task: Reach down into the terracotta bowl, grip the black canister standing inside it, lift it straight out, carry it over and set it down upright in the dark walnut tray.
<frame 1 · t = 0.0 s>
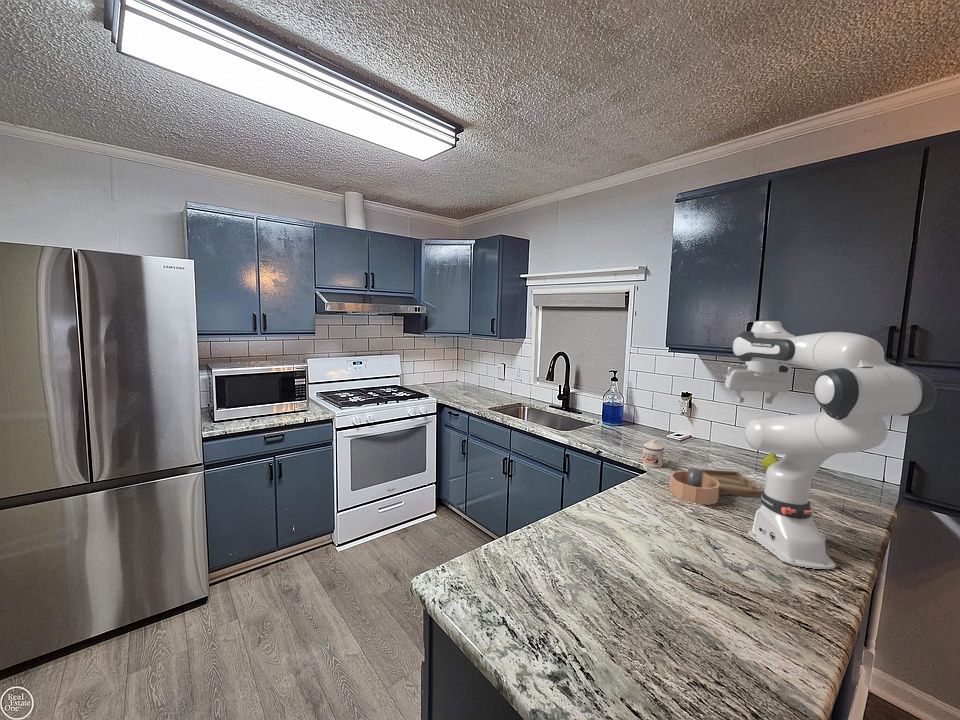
hand: (754, 402, 144), 39 cm above the worktop, tool pointing down, fingers open, 8 cm apart
black canister: (694, 483, 155), in the terracotta bowl
fruit: (770, 472, 181), on the worktop
teacup with lid: (655, 465, 186), on the worktop
walnut tray: (728, 485, 165), on the worktop
terracotta bowl: (693, 495, 156), on the worktop
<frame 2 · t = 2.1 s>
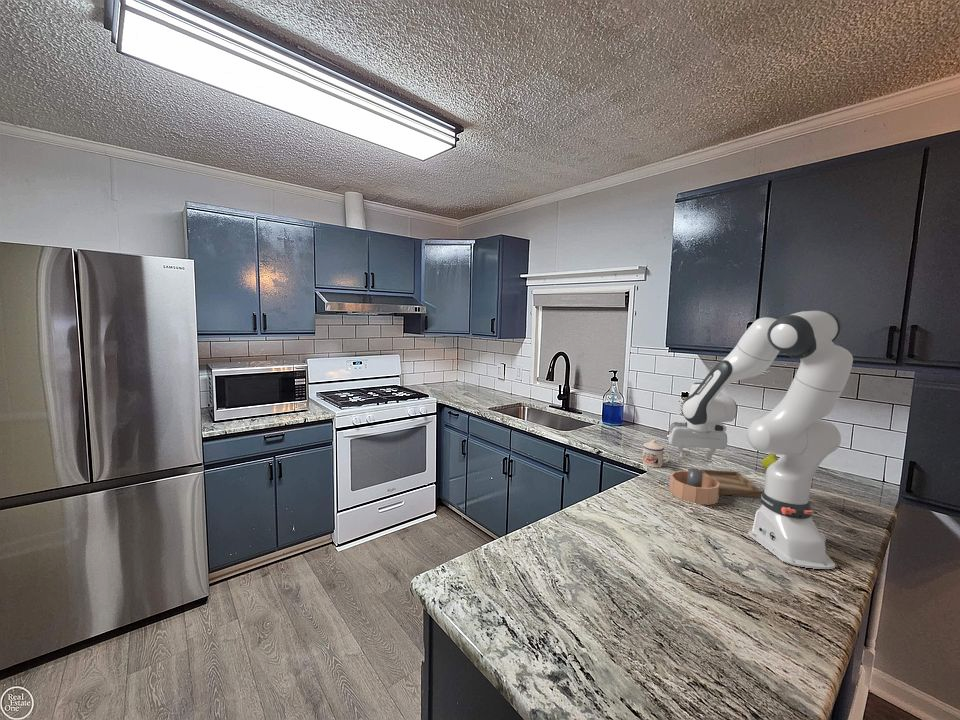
hand: (695, 457, 155), 15 cm above the worktop, tool pointing down, fingers open, 8 cm apart
nothing on the worktop moved.
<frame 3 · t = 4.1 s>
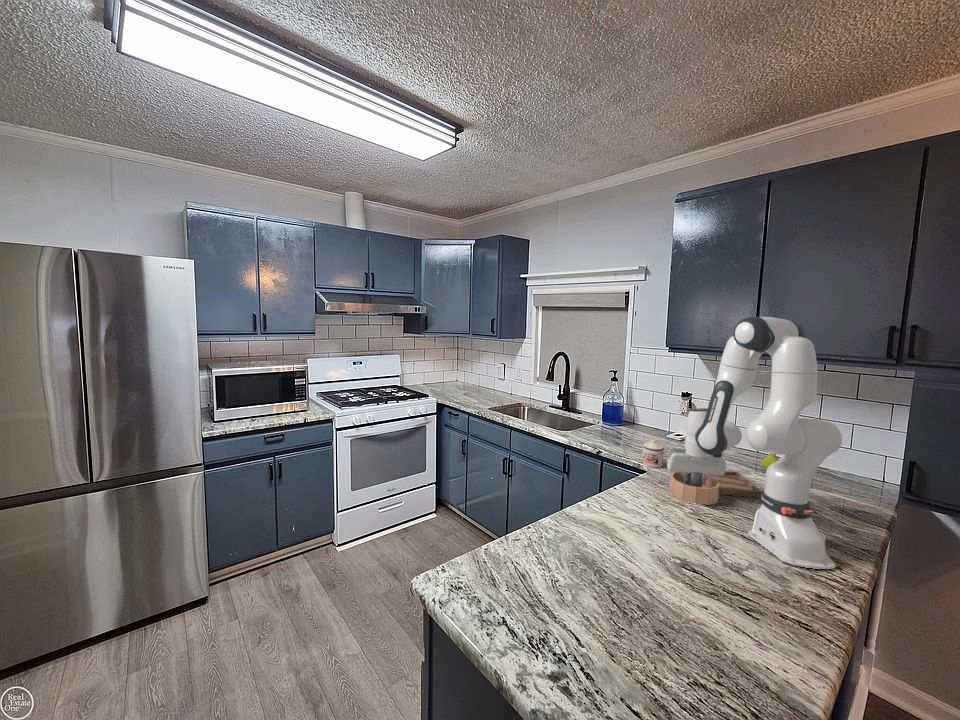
hand: (694, 483, 155), 5 cm above the worktop, tool pointing down, fingers closed on black canister, 5 cm apart
black canister: (694, 483, 155), in the terracotta bowl, touching gripper
everything else where it was.
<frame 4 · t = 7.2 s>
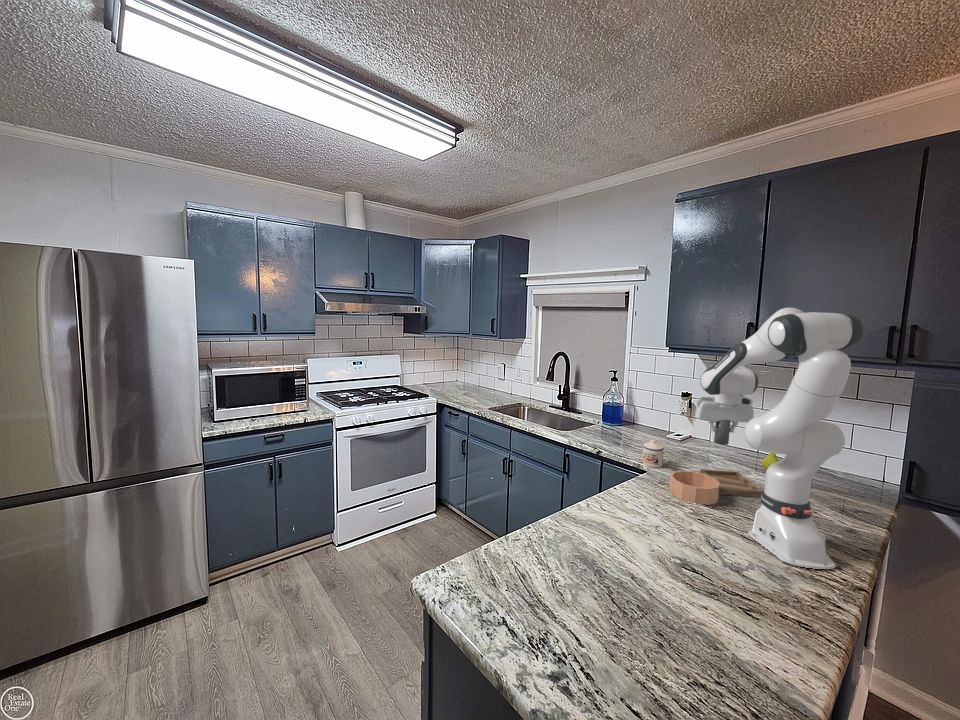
hand: (722, 431, 160), 24 cm above the worktop, tool pointing down, fingers closed on black canister, 5 cm apart
black canister: (722, 430, 160), point 24 cm above the worktop, touching gripper
everything else where it was.
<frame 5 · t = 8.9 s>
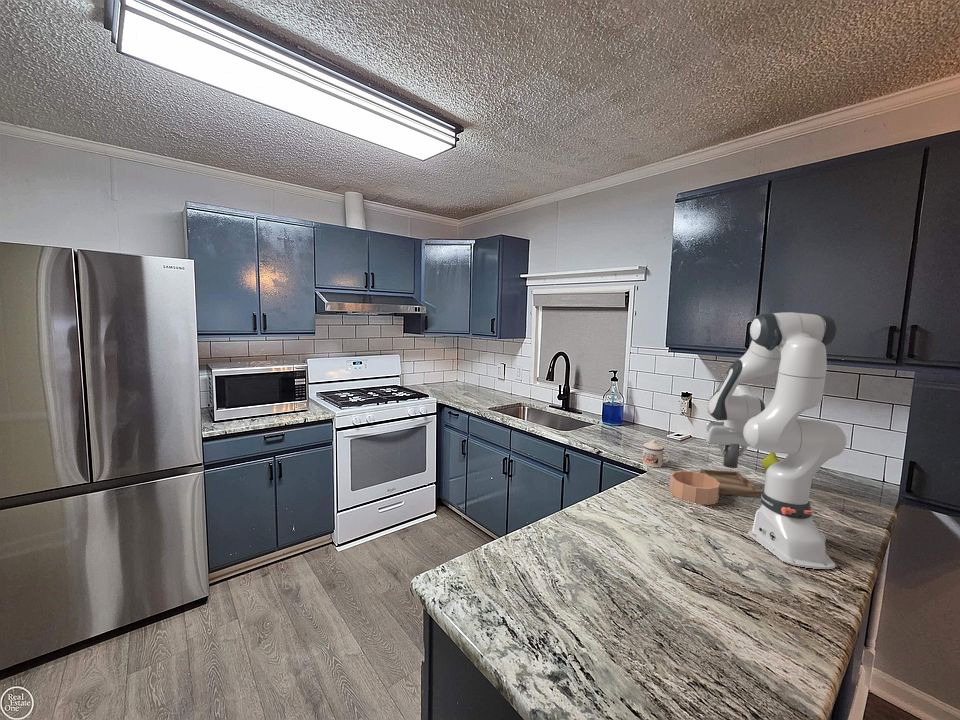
hand: (731, 455, 164), 13 cm above the worktop, tool pointing down, fingers closed on black canister, 5 cm apart
black canister: (731, 454, 164), point 13 cm above the worktop, touching gripper
everything else where it was.
when the fingers open (7 cm above the worktop, at t = 10.5 s): black canister drops 1 cm, resting on walnut tray.
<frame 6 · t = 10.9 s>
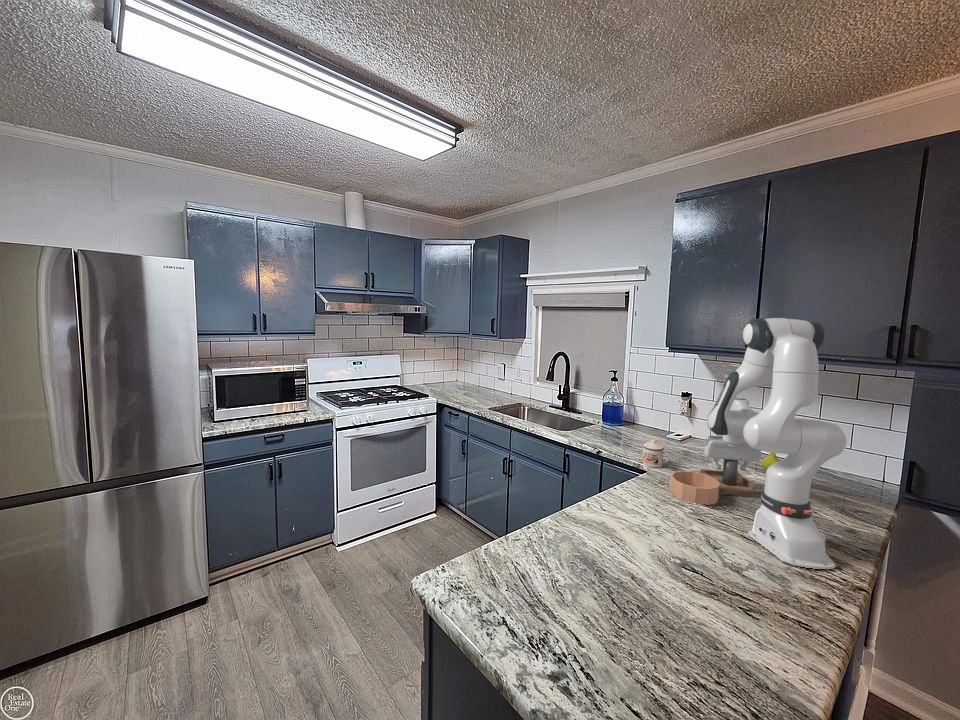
hand: (730, 469, 164), 7 cm above the worktop, tool pointing down, fingers open, 8 cm apart
black canister: (730, 471, 164), in the walnut tray, point 6 cm above the worktop
everything else where it was.
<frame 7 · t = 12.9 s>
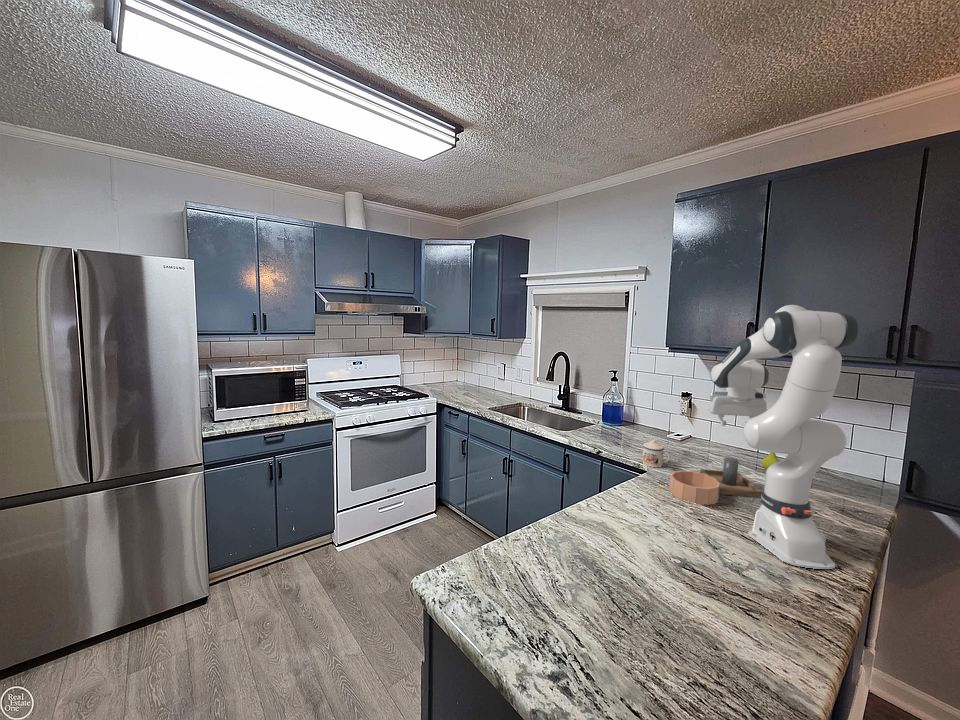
hand: (735, 426, 162), 25 cm above the worktop, tool pointing down, fingers open, 8 cm apart
nothing on the worktop moved.
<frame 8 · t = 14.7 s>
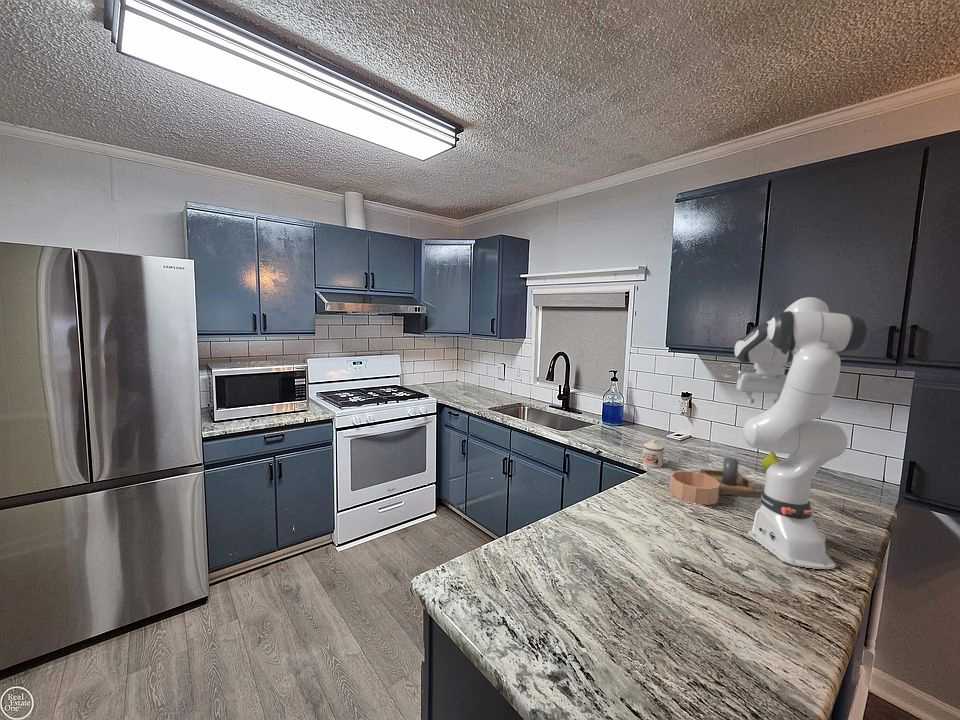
hand: (763, 403, 160), 35 cm above the worktop, tool pointing down, fingers open, 8 cm apart
nothing on the worktop moved.
at the end: black canister inside the target area on the walnut tray (0.1 cm from its centre), point 6.0 cm above the walnut tray's base; black canister tilted 0°; black canister touching walnut tray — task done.
